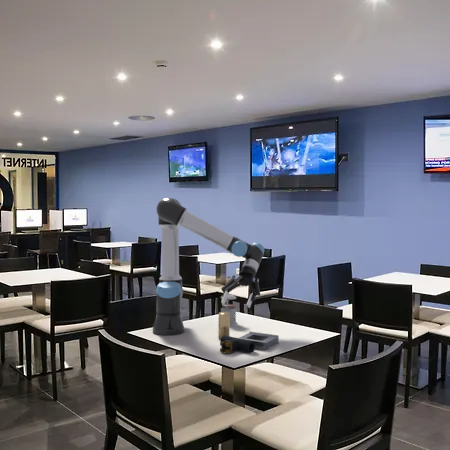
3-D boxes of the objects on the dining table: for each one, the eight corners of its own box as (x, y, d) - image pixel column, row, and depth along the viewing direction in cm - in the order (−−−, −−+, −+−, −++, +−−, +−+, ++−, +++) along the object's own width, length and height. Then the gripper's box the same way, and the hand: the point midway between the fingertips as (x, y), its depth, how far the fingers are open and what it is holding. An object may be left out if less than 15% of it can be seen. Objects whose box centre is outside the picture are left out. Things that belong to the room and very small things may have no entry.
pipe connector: (238, 344, 206) (210, 338, 215) (237, 357, 206) (210, 350, 215) (255, 340, 214) (228, 334, 224) (254, 352, 214) (227, 346, 224)
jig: (236, 345, 223) (236, 338, 223) (250, 338, 235) (250, 331, 235) (265, 350, 216) (265, 342, 216) (278, 342, 228) (278, 335, 228)
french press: (221, 326, 260) (221, 277, 259) (216, 321, 271) (216, 274, 270) (240, 325, 262) (240, 276, 262) (234, 320, 274) (234, 273, 273)
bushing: (216, 339, 233) (216, 313, 232) (221, 337, 237) (221, 311, 237) (226, 341, 230) (226, 314, 230) (231, 338, 235) (231, 312, 234)
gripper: (274, 276, 251) (261, 312, 239) (229, 273, 263) (215, 306, 251) (270, 266, 247) (256, 302, 234) (224, 263, 258) (209, 297, 246)
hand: (235, 304), depth 242 cm, fingers open, 13 cm apart
